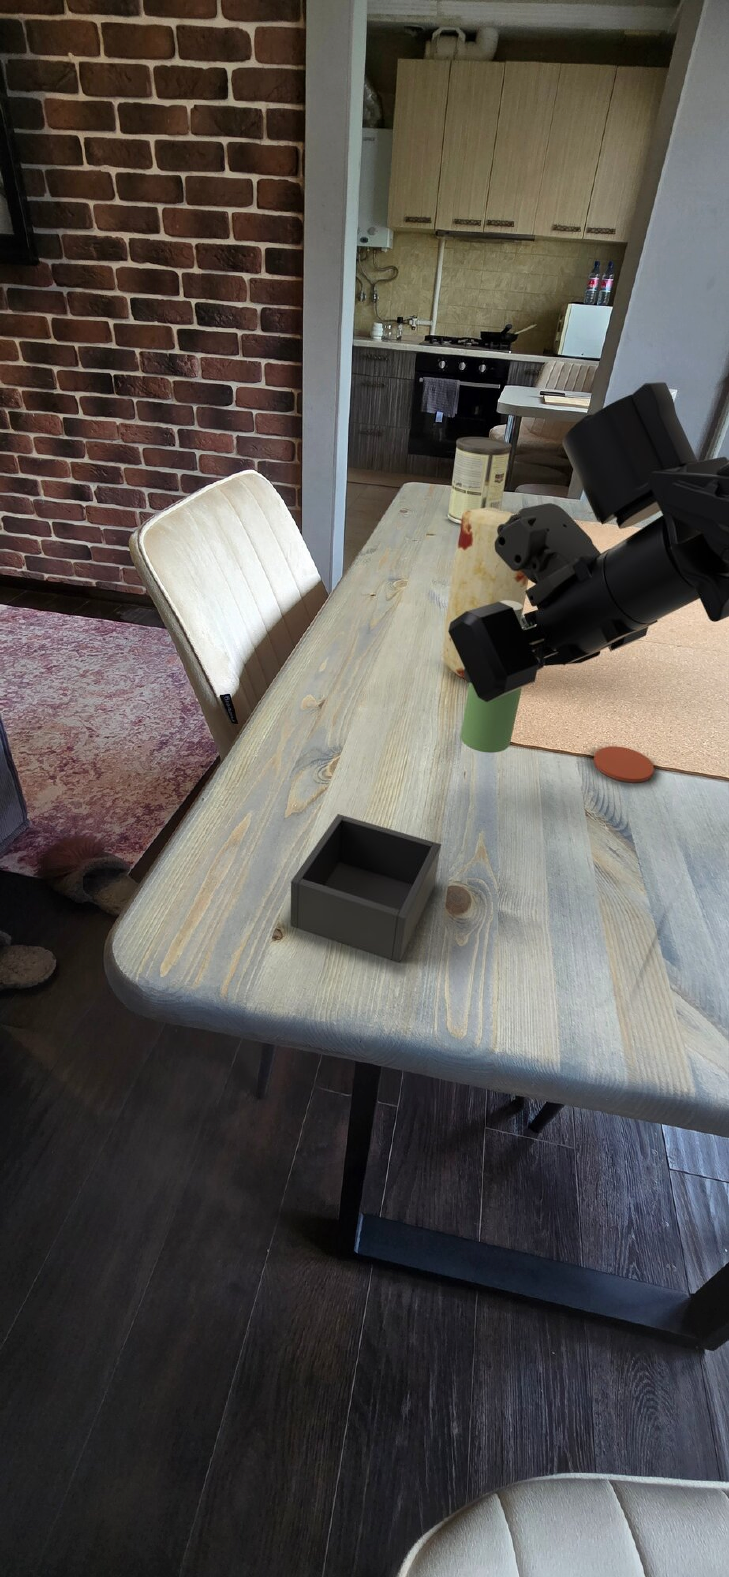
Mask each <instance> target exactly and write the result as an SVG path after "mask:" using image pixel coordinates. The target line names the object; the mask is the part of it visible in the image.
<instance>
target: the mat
mask: <svg viewBox="0 0 729 1577" xmlns="http://www.w3.org/2000/svg"><path fill="white" fill-rule="evenodd" d="M593 764H594V766H595V767H596V769H597V770H598V771H599V772H600V773H602V774H603V775H605V776H607V777H608V778H611V779H613V780H615V781H619V782H624V783H632V784H634V783H635V784H637V783H642V782H645V781H648V780H649V779H651V777H653V774H654V771H655V767H654V764H653V762H652V761H651V759H649V758H648V757H647V756H646V755H644V754H643V753H640V752H639V751H636V750H634V749H632V748H627V747H623V746H605V747H601V748H600V749H598V750H597V751H596V752H595V753H594V758H593Z"/></svg>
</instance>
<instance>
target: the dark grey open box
mask: <svg viewBox="0 0 729 1577" xmlns="http://www.w3.org/2000/svg"><path fill="white" fill-rule="evenodd" d="M441 848H442V844H441V843H439V842H434V841H432V840H429V839H425V838H421V837H418V836H414V835H411V834H408V833H404V832H401V831H398V830H394V829H391V828H387V827H384V826H381V825H378V824H373V823H370V822H367V821H364V820H360V819H357V818H353V817H350V816H348V815H347V816H346V815H343V814H340V813H337V815H336V816H335V817H334V818H333V820H332V822H331V823H330V824H329V826H328V827H327V829H326V830H325V832H324V833H323V834H322V836H321V837H320V839H319V840H318V842H317V843H316V844H315V846H314V847H313V849H312V850H311V852H310V853H309V855H308V856H307V857H306V858H305V860H304V862H303V863H302V865H301V866H300V868H299V869H298V870H297V872H296V873H295V875H294V876H293V877H292V879H291V880H290V927H293V928H296V929H298V930H302V931H304V932H308V933H311V934H313V935H316V936H319V937H323V938H325V939H328V940H330V941H334V942H337V943H340V944H342V945H346V946H348V947H352V948H354V949H357V950H360V951H363V952H366V953H369V954H372V955H374V956H377V957H380V958H383V959H386V960H389V961H391V962H395V963H398V964H400V963H401V961H402V959H403V956H404V954H405V952H406V950H407V947H408V946H409V943H410V941H411V939H412V937H413V934H414V932H415V930H416V928H417V925H418V924H419V922H420V919H421V917H422V915H423V912H424V910H425V909H426V906H427V904H428V901H429V899H430V897H431V894H432V892H433V891H434V888H435V883H436V878H437V872H438V864H439V859H440V853H441Z"/></svg>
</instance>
